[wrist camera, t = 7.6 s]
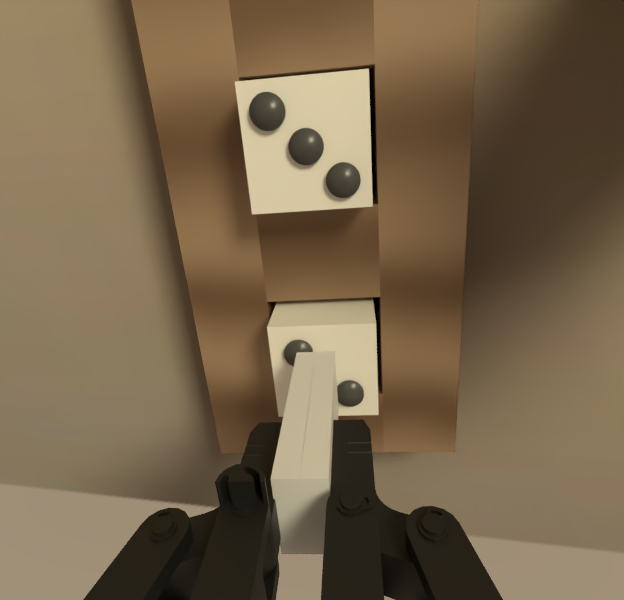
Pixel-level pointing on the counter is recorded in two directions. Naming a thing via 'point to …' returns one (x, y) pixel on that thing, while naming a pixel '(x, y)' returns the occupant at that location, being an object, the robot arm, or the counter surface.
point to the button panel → (322, 223)
